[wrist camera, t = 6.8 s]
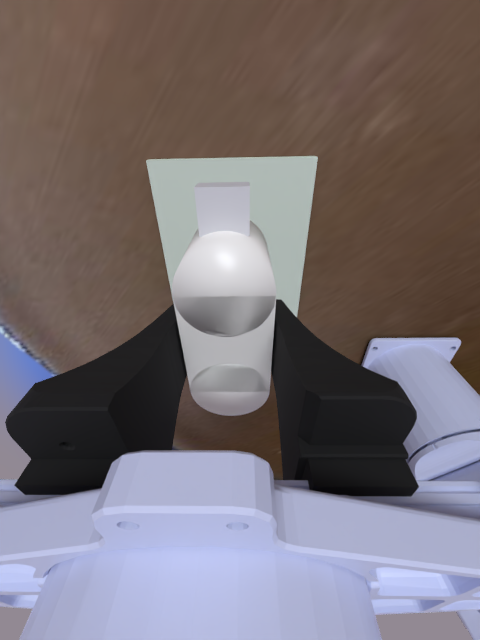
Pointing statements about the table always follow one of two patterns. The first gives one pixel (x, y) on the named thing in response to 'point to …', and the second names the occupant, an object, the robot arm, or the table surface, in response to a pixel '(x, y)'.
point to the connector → (226, 303)
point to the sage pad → (265, 208)
